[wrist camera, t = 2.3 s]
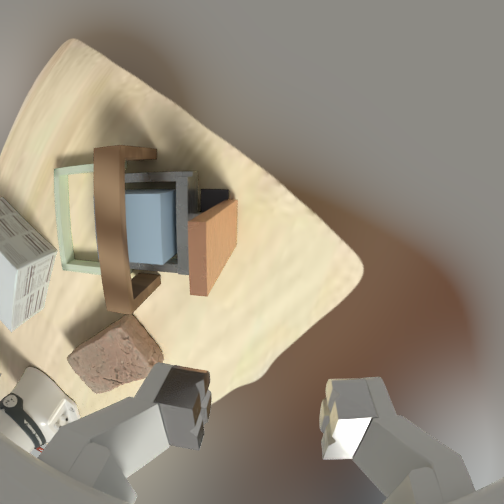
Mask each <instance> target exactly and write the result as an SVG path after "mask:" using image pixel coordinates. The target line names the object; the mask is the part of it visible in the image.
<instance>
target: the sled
mask: <svg viewBox="0 0 504 504" xmlns="http://www.w3.org/2000/svg"><path fill="white" fill-rule="evenodd" d="M163 181H176V229H177V257H178V259H177V258H170V259H169V260H168V261H167V262H166V263H164V264H163V265H158V264H147V263H135V262H129V266H130V269H139V270H150V271H161V272H173V273H178V274H182V275H189V280H190V295H197V296H208V294H209V293H210V291H211V289H212V287H213V286H214V284H215V282H216V280H217V278H218V277H219V275H220V273H221V271H222V270H223V268H224V266H225V264H226V263H227V261H228V259H229V257H230V256H231V254H232V252H233V250H234V249H235V247H236V245H237V202H238V200H232V199H226V200H224V201H223V202H221V203H219V204H217V205H215V206H214V207H212V208H210V209H208V210H207V211H205V212H198V171H179V172H146V173H127V174H125V183H130V182H163Z"/></svg>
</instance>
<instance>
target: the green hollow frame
mask: <svg viewBox="0 0 504 504" xmlns="http://www.w3.org/2000/svg"><path fill="white" fill-rule="evenodd" d="M125 169H127V161H125ZM88 172H94V164H86V165H78V166H70V167H63V168H56V169H54V193H55V210H56V223H57V233H58V241H59V249H60V256H61V263H62V269H63V270H66V271H74V272H81V273H89V274H97V275H101V270H100V262H95V261H85V260H75V259H74V251H73V243H72V234H71V223H70V210H69V192H68V175H69V174H78V173H88ZM131 273H132V269H130V274H131Z"/></svg>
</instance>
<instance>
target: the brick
mask: <svg viewBox="0 0 504 504" xmlns="http://www.w3.org/2000/svg"><path fill="white" fill-rule="evenodd" d="M67 360H68V362H69V364H70V366H71V367H72V369H73V370H74V371H75V373H76V374H78V375H79V376H80V378H81V379H82V381H84V382H85V384H86V385H87V386H88V387H89V388H91V390H92V391H93V392H94V393H96V394H97V393H99V394H100V393H103V392H107V391H110V390H112V389H114V388H116V387H118V386H120V384H121V385H123V384H125V383H129V382H132V381H136V380H140V379H143V378H146V377H147V376H148V374H149V372H150V371H151V369H152V368H153V366H154V365H155V364H156V363H158V362H160V363H163V360H164V356H163V354H162V352H161V350H160V348H159V347H158V345H157V344H156V343H155V341H154V340H153V339H152V338H151V337H150V336H149V334H148V333H147V331H146V329H145V328H144V327H142V326H141V325H140V323H139V322H138V320H137V319H136V318H135V317H134V316H133V315H132V314H131V315H129V314H128V315H125V316H123V317H122V318H120V319H119V320H118V321H117V322H114V323H112V324H111V325H110V326H108V327H107V328H105V329H104V330H102V331H101V332H99V333H98V334H96V335H95V336H93V337H92V338H90V339H89V340H87V341H86V342H83V343H82V344H80V345H79V346H78V347H76V349H75V350H73V352H72V353H71V354H70V355H69V356H68V357H67Z"/></svg>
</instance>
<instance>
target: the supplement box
mask: <svg viewBox="0 0 504 504" xmlns="http://www.w3.org/2000/svg"><path fill="white" fill-rule="evenodd" d="M57 252H58V251H57V250H56V249H55V248H54V247H53V246H52V245H51V244H50V243H49V242H48V241H47V240H45V239H44V238H43V237H42V236H41V235H40V234H39V233H38V232H37V231H36V230H35V229H34V228H33V227H32V226H31V225H30V224H29V223H28V222H27V221H26V220H25V219H24V218H23V217H22V216H21V215H20V214H19V213H18V212H17V211H16V210H15V209H14V208H13V207H12V206H11V205H10V204H9V203H8V202H7V201H6V200H5V199H4V198H3V197H0V320H1V321H2V322H3V324H4V325H5V326H6V327H7V328H8V329H9V330H10V331H11V332H12V331H14V330H15V329H16V328H17V327H19V326H20V325H21V324H23V323H24V322H25V321H27V320H28V319H30V318H31V317H32V316H34V315H35V314H37V313H38V312H39V311H41V310H42V309H44V305H45V300H46V295H47V291H48V286H49V282H50V277H51V273H52V269H53V265H54V262H55V258H56V255H57Z"/></svg>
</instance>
